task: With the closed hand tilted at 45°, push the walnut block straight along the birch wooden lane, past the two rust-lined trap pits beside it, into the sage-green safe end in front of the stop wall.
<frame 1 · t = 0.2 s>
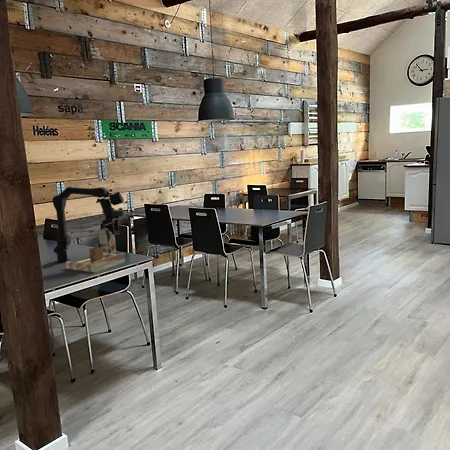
hand: (116, 232, 268), 16 cm above the table, tool pointing down, fingers open, 9 cm apart
walnut block: (97, 261, 257), point 2 cm above the table, touching trap lane
trap lane: (96, 265, 257), on the table
coffee box: (108, 254, 285), on the table
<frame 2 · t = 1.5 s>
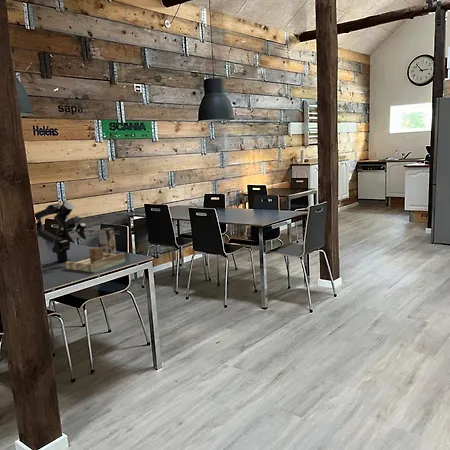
hand: (79, 240, 261), 13 cm above the table, tool tilted 45°, fingers open, 9 cm apart
nothing on the table moved.
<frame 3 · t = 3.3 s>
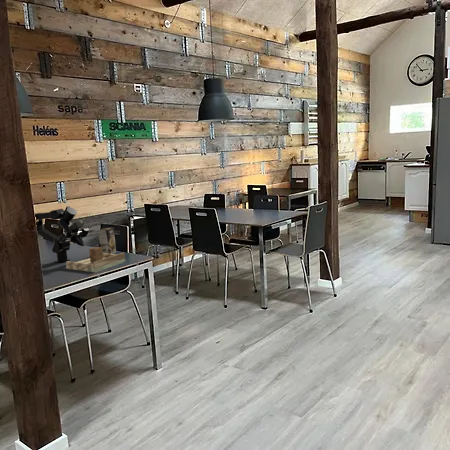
hand: (83, 245, 260), 11 cm above the table, tool tilted 45°, fingers closed
nothing on the table moved.
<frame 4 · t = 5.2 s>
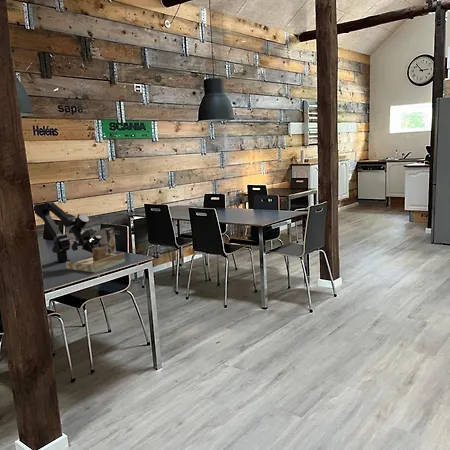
hand: (95, 253, 256), 7 cm above the table, tool tilted 45°, fingers closed
walnut block: (99, 262, 255), point 2 cm above the table
everything else where it was.
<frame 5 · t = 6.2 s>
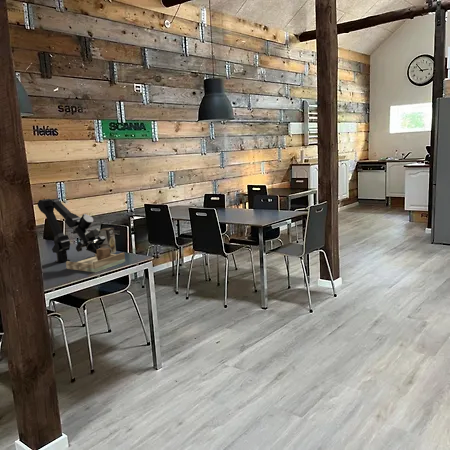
hand: (99, 254, 254), 7 cm above the table, tool tilted 45°, fingers closed, pressing on walnut block
walnut block: (104, 262, 254), point 2 cm above the table, touching gripper, trap lane
everything else where it was.
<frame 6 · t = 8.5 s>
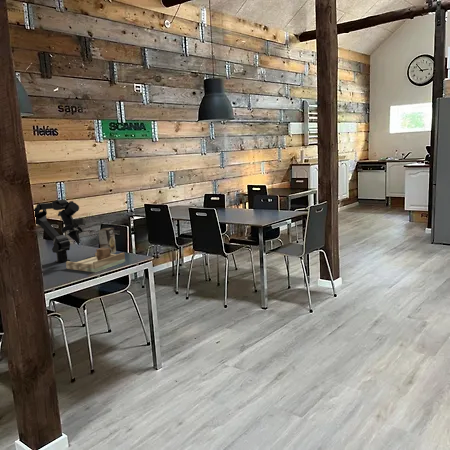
hand: (79, 243, 260), 12 cm above the table, tool tilted 30°, fingers closed
walnut block: (104, 262, 254), point 2 cm above the table, touching trap lane
everything else where it was.
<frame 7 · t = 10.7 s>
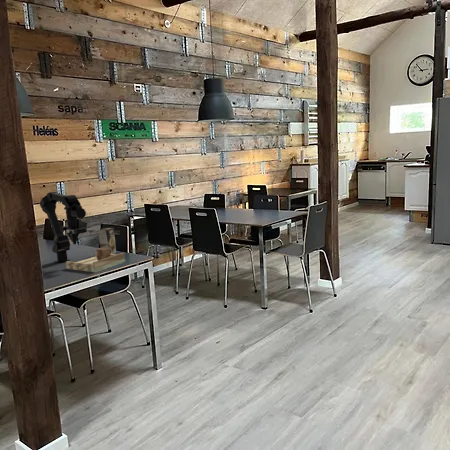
hand: (74, 244, 259), 12 cm above the table, tool pointing down, fingers closed
nothing on the table moved.
at the end: walnut block inside the target area (0.2 cm from its centre), point 2.0 cm above the table; walnut block tilted 0°; walnut block moved 5.7 cm from its start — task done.
